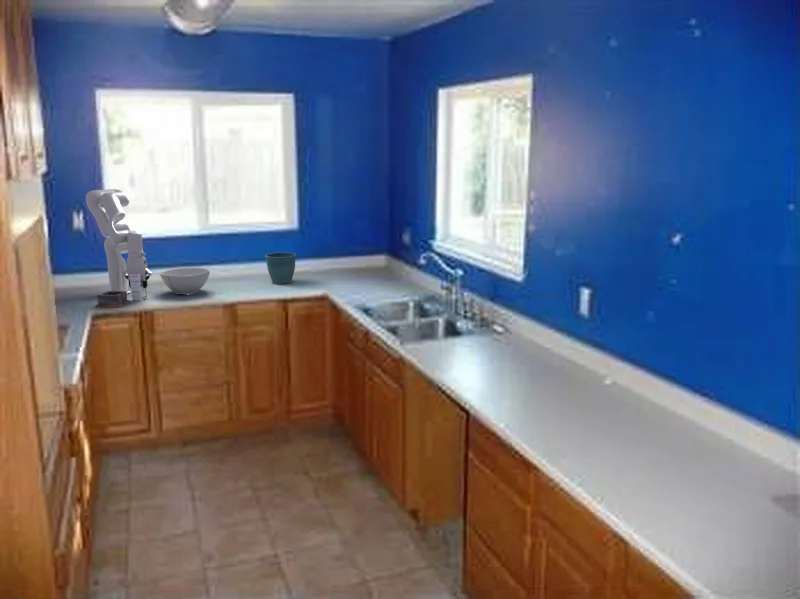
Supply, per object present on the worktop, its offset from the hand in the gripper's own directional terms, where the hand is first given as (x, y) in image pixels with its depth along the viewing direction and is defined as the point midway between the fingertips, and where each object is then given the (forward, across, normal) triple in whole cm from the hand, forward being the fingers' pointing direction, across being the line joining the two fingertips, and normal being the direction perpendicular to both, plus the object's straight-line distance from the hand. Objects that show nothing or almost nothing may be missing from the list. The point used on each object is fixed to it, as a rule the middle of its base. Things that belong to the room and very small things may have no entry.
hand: (138, 287), depth 387 cm
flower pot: (+7, -66, -51) cm, 84 cm away
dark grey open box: (+7, +9, +12) cm, 16 cm away
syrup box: (+7, 0, 0) cm, 7 cm away
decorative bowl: (+7, -19, -19) cm, 28 cm away
